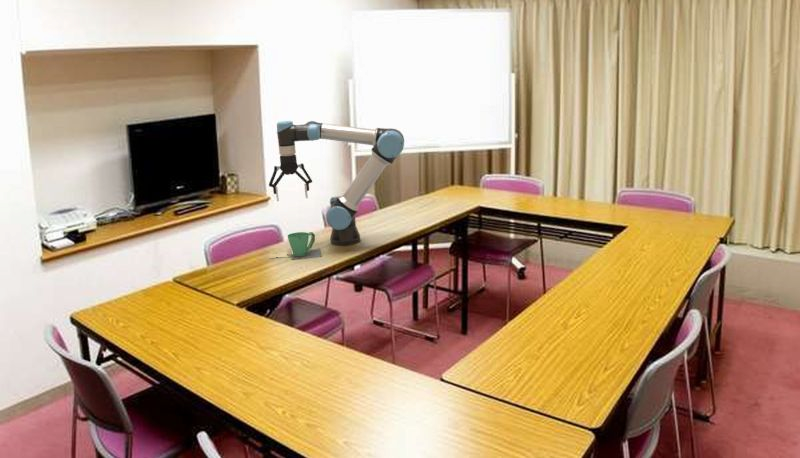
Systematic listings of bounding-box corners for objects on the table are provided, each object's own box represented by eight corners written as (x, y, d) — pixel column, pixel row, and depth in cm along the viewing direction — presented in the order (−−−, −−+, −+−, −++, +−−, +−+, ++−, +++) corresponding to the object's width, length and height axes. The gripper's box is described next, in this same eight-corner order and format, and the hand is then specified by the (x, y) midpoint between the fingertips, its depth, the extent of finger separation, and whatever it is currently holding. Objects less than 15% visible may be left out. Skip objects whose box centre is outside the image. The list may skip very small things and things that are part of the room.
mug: (299, 258, 315) (297, 237, 313) (285, 256, 321) (283, 235, 319) (322, 251, 326) (320, 231, 324) (308, 249, 332) (306, 229, 330)
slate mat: (320, 248, 332) (320, 248, 331) (321, 256, 318) (321, 256, 318) (291, 251, 330) (291, 251, 330) (291, 259, 316) (291, 259, 316)
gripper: (313, 151, 325) (317, 195, 330) (260, 156, 320) (265, 200, 325) (315, 153, 318) (319, 197, 323) (260, 158, 313) (265, 203, 318)
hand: (292, 199), depth 324 cm, fingers open, 13 cm apart
